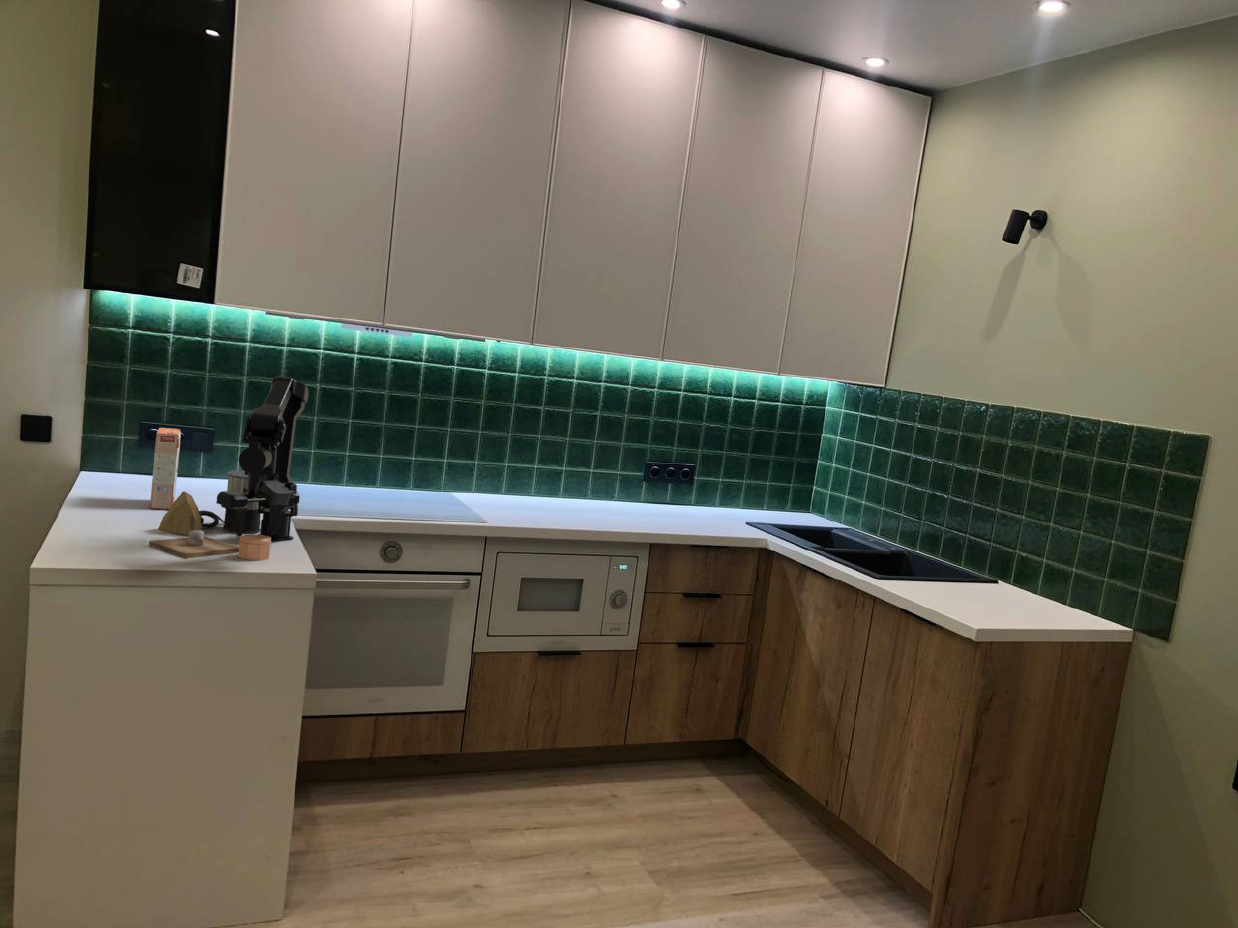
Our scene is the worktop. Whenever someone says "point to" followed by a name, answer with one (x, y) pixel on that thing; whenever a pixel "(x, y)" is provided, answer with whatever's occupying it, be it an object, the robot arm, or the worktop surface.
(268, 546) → the cap
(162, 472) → the cracker box
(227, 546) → the wooden peg board
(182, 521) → the rock
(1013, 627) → the worktop surface
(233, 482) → the milk frother
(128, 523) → the worktop surface
